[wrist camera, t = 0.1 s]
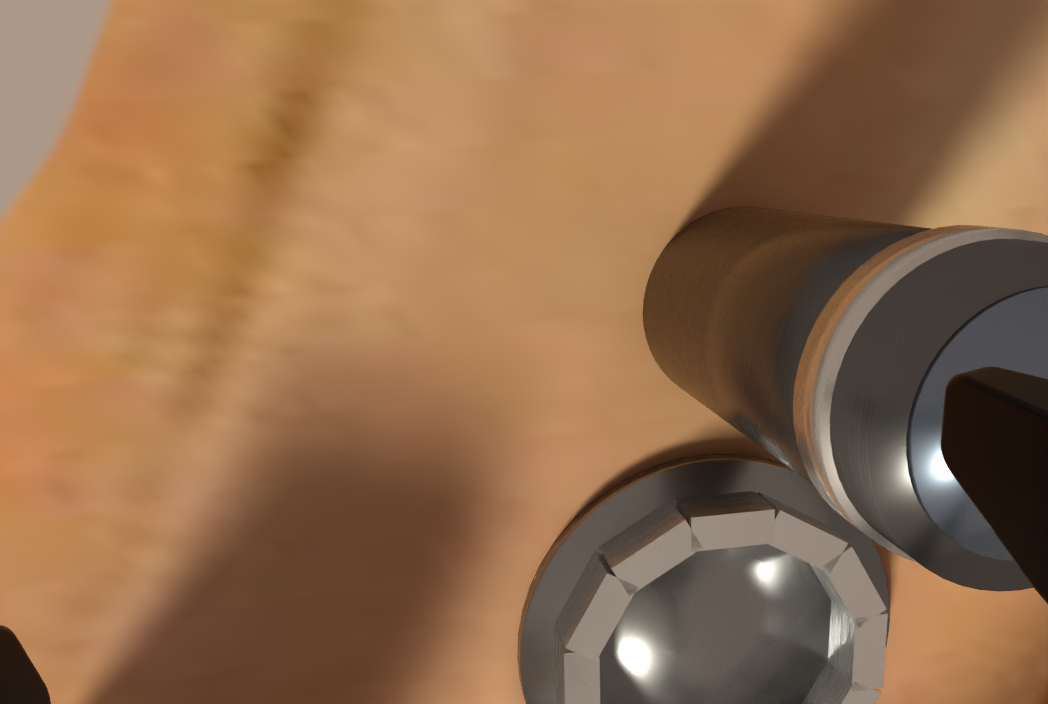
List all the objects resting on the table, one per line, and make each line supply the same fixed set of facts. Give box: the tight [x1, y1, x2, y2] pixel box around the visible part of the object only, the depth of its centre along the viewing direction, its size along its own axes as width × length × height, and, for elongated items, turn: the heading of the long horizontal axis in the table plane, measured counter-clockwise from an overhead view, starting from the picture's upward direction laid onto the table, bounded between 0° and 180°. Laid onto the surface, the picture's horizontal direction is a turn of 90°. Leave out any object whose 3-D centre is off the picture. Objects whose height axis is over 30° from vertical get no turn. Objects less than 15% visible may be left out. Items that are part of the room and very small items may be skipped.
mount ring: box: [517, 454, 889, 704], centre depth 26 cm, size 12×12×2 cm
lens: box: [643, 207, 1048, 591], centre depth 19 cm, size 6×6×12 cm
